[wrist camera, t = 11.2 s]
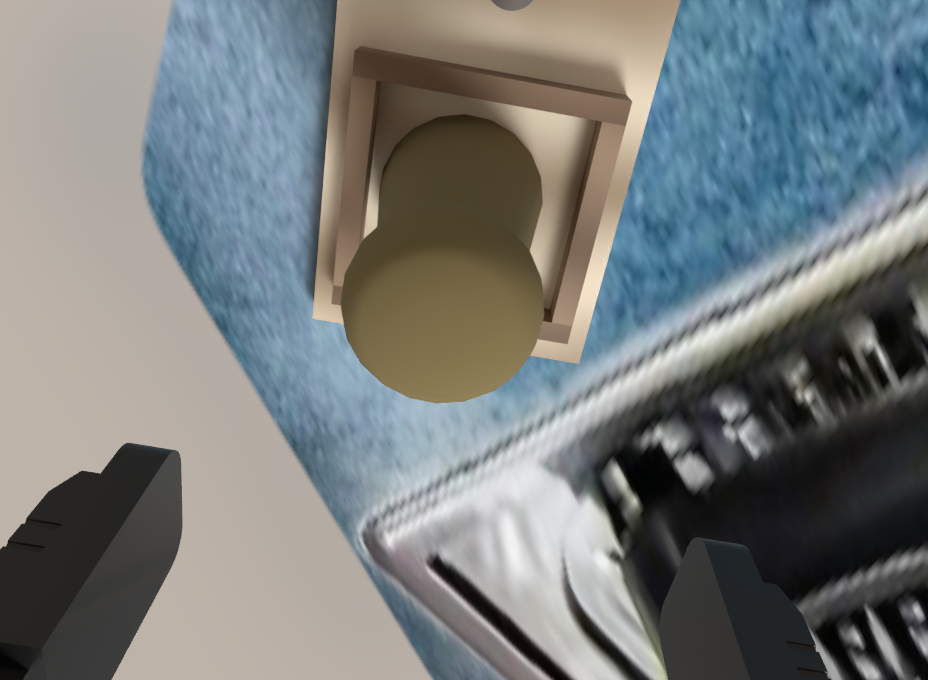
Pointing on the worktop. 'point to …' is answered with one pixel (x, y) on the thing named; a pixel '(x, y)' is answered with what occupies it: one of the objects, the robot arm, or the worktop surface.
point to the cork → (449, 264)
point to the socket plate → (506, 103)
